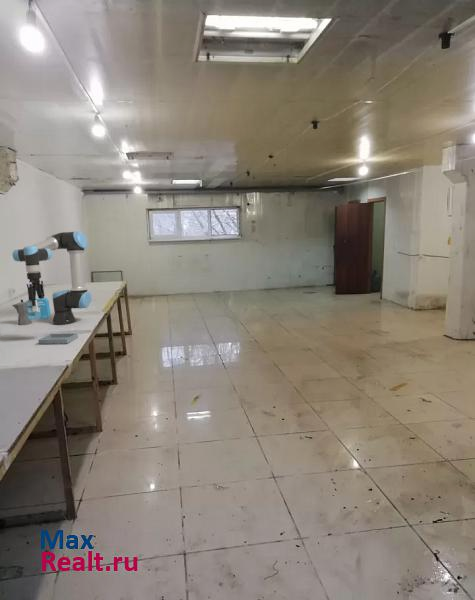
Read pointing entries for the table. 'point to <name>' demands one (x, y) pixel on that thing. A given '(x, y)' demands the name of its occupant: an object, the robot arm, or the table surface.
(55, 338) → the tray
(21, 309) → the coffeepot
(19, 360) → the table surface
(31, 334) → the table surface
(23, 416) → the table surface
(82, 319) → the table surface
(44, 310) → the data package
